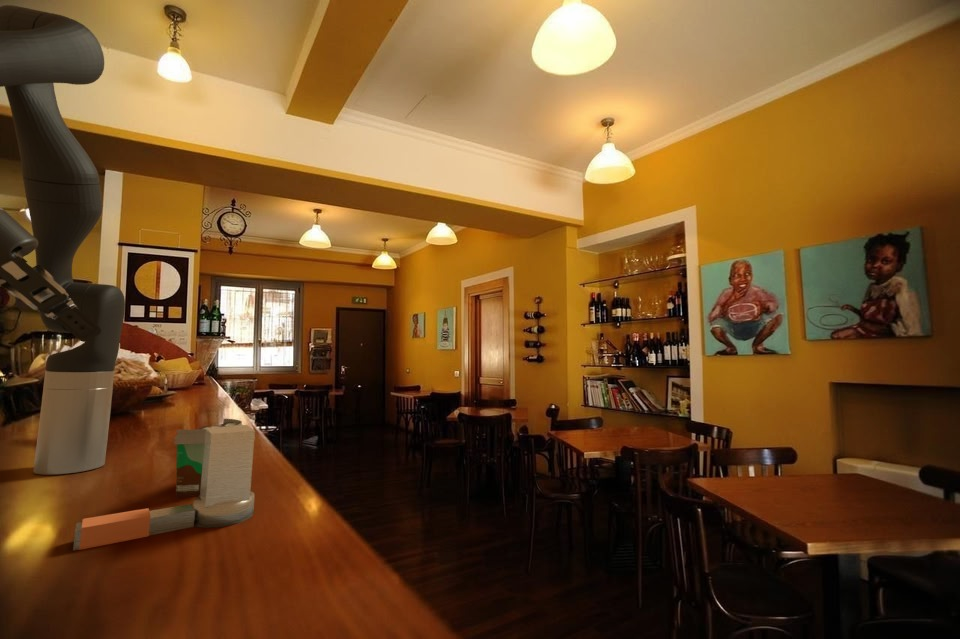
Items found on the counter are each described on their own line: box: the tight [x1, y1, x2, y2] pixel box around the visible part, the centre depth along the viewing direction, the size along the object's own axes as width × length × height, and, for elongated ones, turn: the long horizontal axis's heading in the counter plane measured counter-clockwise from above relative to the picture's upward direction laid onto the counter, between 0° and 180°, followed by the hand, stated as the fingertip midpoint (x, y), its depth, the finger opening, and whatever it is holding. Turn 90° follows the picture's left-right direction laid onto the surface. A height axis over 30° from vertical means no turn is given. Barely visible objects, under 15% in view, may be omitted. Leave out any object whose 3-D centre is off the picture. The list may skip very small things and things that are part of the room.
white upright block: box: [199, 424, 256, 507], centre depth 57 cm, size 5×5×9 cm
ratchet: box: [72, 490, 256, 551], centre depth 54 cm, size 7×18×6 cm, turn 131°
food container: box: [173, 418, 243, 498], centre depth 69 cm, size 12×6×10 cm, turn 179°
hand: (94, 337), depth 53 cm, fingers open, 8 cm apart
